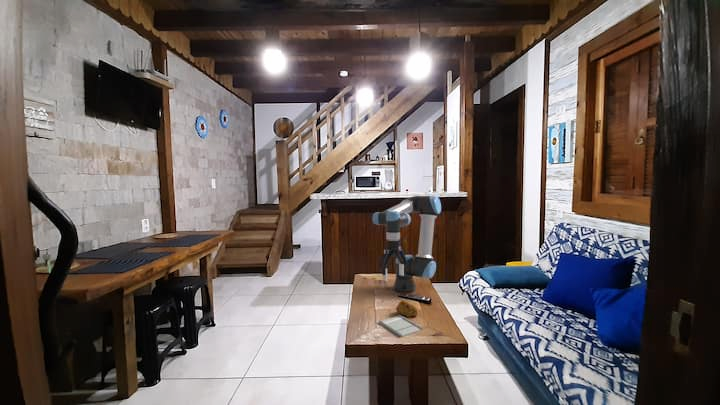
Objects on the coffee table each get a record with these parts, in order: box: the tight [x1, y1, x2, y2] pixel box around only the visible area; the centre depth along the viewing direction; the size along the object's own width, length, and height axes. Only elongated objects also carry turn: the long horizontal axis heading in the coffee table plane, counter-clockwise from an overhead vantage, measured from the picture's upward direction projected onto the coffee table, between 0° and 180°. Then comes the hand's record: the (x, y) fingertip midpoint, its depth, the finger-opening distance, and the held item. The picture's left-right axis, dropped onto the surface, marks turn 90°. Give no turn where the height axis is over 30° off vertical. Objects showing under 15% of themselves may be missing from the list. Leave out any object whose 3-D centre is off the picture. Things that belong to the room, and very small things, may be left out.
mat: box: [378, 314, 423, 338], centre depth 155 cm, size 14×18×1 cm
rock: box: [395, 299, 419, 318], centre depth 169 cm, size 11×8×10 cm
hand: (393, 277), depth 169 cm, fingers open, 13 cm apart
